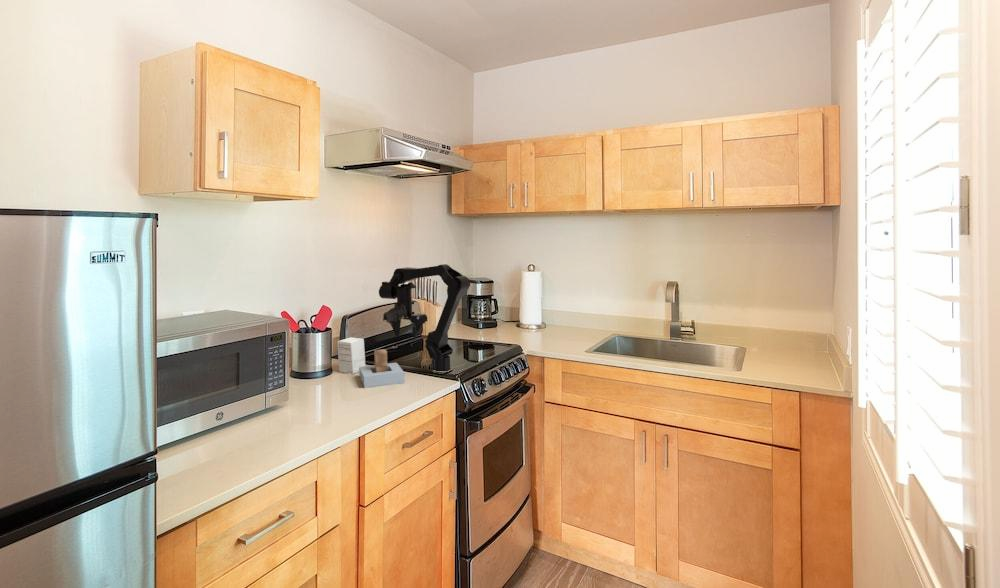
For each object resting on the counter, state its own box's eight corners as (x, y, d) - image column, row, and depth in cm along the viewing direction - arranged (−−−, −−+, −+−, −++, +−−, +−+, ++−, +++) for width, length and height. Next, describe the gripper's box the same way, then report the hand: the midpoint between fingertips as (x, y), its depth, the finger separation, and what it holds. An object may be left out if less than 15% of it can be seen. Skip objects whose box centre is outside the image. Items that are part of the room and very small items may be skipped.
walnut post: (386, 375, 180) (385, 349, 178) (388, 378, 176) (386, 351, 175) (375, 376, 178) (374, 350, 177) (377, 379, 175) (375, 352, 173)
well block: (397, 372, 186) (396, 362, 186) (404, 382, 174) (404, 371, 173) (359, 377, 181) (359, 367, 180) (364, 388, 168) (364, 377, 168)
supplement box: (352, 367, 195) (350, 336, 193) (366, 369, 191) (364, 338, 190) (338, 372, 188) (336, 340, 186) (352, 374, 185) (351, 342, 183)
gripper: (372, 300, 187) (374, 339, 190) (407, 304, 178) (409, 345, 180) (392, 297, 197) (394, 334, 199) (427, 300, 187) (429, 339, 189)
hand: (406, 338), depth 191 cm, fingers open, 9 cm apart
